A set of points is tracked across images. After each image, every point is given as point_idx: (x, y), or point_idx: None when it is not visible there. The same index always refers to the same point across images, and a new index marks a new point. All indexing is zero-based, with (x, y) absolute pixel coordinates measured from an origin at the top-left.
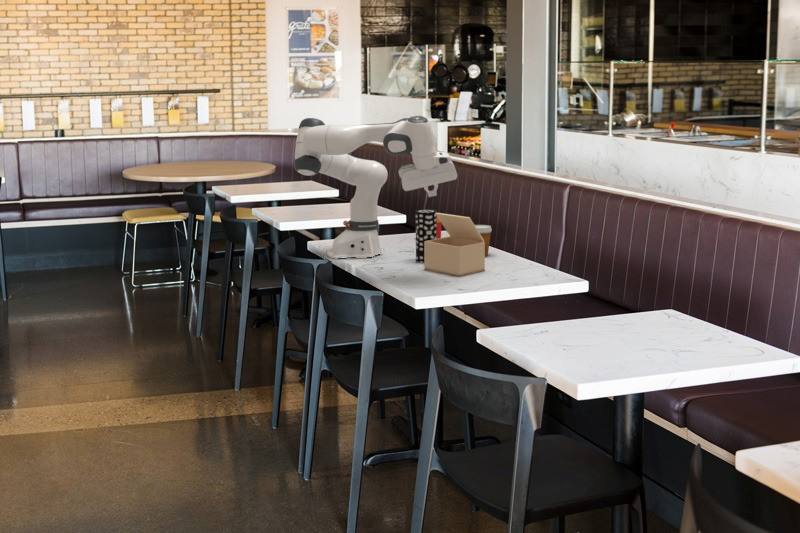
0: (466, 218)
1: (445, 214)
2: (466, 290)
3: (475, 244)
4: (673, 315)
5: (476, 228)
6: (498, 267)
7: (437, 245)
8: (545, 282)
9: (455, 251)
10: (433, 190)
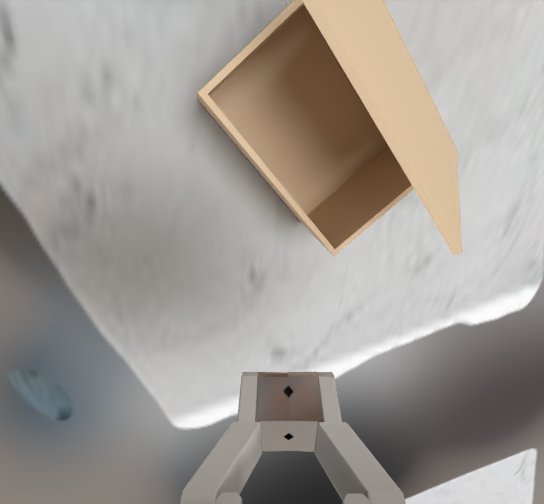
0: (444, 235)
1: (364, 93)
2: (290, 361)
3: (405, 194)
4: (526, 465)
5: (458, 196)
6: (443, 95)
7: (257, 165)
8: (473, 290)
9: (315, 235)
10: (313, 429)
